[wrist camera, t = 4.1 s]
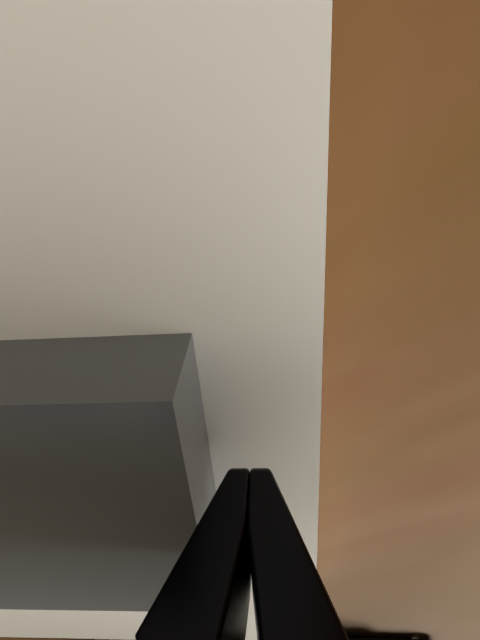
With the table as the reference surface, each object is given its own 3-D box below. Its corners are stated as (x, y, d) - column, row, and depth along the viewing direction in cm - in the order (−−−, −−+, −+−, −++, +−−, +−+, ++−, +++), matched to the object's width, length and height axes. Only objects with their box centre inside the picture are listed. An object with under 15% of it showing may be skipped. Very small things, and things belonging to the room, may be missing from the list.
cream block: (308, 580, 15) (314, 643, 14) (0, 577, 16) (-31, 636, 15) (316, -57, 7) (335, -110, 5) (-347, 15, 8) (-528, -7, 6)
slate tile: (221, 528, 11) (213, 612, 9) (-64, 528, 11) (-123, 607, 10) (191, 332, 8) (172, 401, 6) (-187, 347, 9) (-303, 413, 7)
